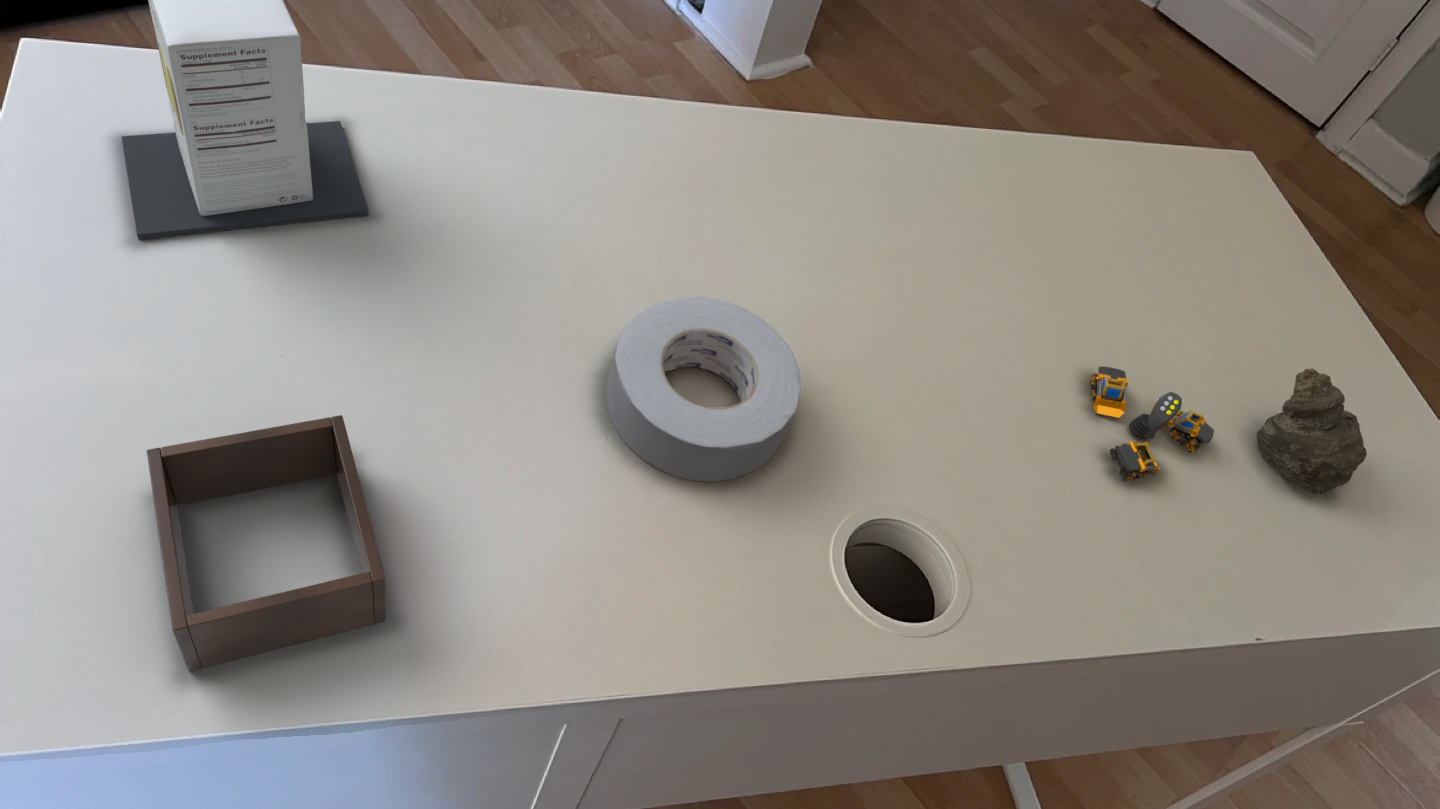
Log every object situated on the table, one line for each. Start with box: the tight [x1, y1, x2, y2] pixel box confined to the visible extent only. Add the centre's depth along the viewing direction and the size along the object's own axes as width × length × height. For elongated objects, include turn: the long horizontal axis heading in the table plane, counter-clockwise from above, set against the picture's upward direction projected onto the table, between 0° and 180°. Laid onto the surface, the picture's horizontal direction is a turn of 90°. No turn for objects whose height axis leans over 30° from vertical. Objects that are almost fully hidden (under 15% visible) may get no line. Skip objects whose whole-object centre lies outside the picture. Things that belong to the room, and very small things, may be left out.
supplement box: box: [147, 0, 313, 216], centre depth 85 cm, size 10×9×17 cm
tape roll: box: [605, 295, 802, 483], centre depth 87 cm, size 15×15×5 cm
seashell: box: [1256, 367, 1401, 506], centre depth 98 cm, size 11×12×10 cm
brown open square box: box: [146, 414, 387, 672], centre depth 70 cm, size 12×13×6 cm
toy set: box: [1089, 365, 1215, 482], centre depth 96 cm, size 12×11×5 cm
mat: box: [120, 120, 370, 240], centre depth 92 cm, size 18×12×1 cm, turn 113°
